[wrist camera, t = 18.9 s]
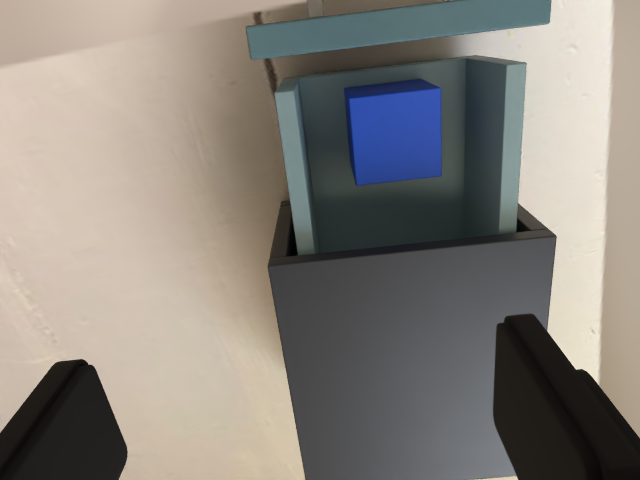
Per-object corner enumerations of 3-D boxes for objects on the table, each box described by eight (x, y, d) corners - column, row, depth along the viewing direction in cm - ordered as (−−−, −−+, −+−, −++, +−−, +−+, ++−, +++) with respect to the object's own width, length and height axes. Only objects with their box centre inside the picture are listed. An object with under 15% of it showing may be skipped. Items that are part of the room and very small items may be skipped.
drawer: (246, -89, 22) (218, -137, 16) (494, -123, 21) (567, -186, 15) (298, 263, 29) (293, 326, 23) (482, 244, 29) (528, 303, 23)
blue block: (343, 87, 24) (348, 97, 20) (422, 78, 24) (441, 87, 20) (350, 164, 26) (355, 186, 22) (423, 155, 25) (442, 177, 22)
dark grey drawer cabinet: (280, 201, 29) (267, 266, 21) (489, 178, 28) (557, 235, 20) (309, 388, 34) (307, 494, 27) (482, 372, 34) (533, 474, 26)
